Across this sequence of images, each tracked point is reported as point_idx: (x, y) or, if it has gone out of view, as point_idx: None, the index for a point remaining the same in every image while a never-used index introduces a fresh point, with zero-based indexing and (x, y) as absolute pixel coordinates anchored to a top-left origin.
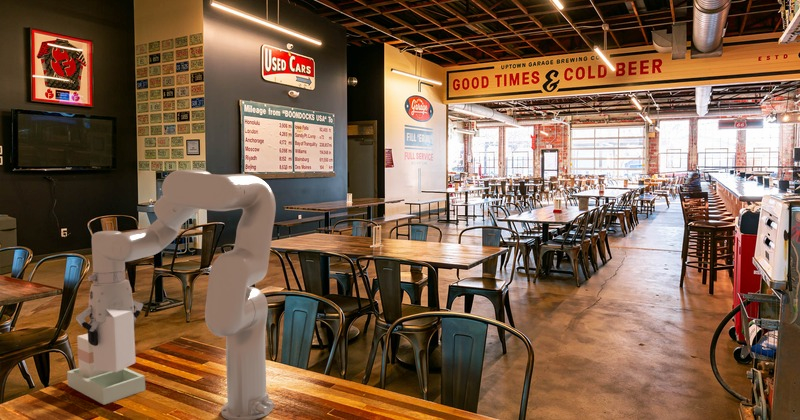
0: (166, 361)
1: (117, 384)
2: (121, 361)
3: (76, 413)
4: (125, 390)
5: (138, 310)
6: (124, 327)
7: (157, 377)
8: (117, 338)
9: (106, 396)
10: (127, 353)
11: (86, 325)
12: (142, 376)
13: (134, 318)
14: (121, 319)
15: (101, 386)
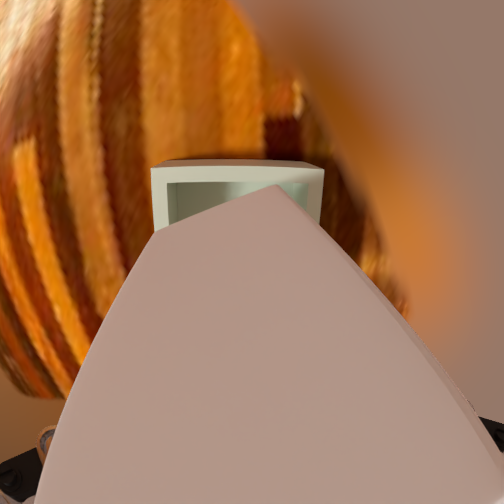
0: (49, 331)
1: (266, 171)
2: (245, 206)
3: (362, 194)
4: (235, 162)
5: (4, 492)
6: (198, 372)
7: (90, 252)
8: (309, 265)
9: (305, 165)
10: (195, 236)
11: (492, 433)
12: (159, 170)
13: (48, 450)
14: (269, 497)
15: (310, 205)
